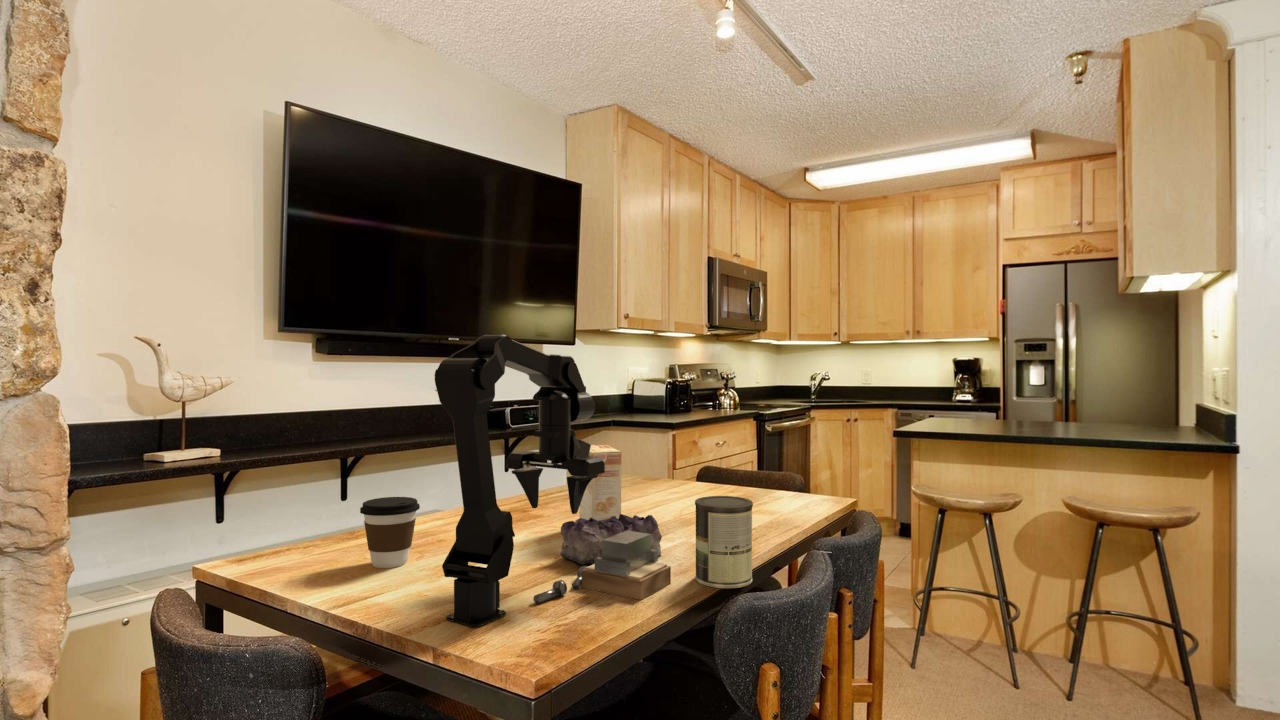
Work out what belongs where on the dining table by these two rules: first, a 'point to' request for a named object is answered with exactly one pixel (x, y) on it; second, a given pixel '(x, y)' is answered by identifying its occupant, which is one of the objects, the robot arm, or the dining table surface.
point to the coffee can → (723, 541)
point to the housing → (625, 553)
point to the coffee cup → (389, 529)
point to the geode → (603, 535)
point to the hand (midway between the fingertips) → (554, 510)
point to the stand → (629, 580)
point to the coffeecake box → (603, 487)
